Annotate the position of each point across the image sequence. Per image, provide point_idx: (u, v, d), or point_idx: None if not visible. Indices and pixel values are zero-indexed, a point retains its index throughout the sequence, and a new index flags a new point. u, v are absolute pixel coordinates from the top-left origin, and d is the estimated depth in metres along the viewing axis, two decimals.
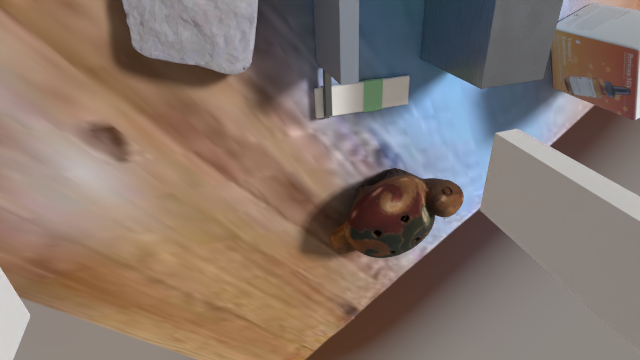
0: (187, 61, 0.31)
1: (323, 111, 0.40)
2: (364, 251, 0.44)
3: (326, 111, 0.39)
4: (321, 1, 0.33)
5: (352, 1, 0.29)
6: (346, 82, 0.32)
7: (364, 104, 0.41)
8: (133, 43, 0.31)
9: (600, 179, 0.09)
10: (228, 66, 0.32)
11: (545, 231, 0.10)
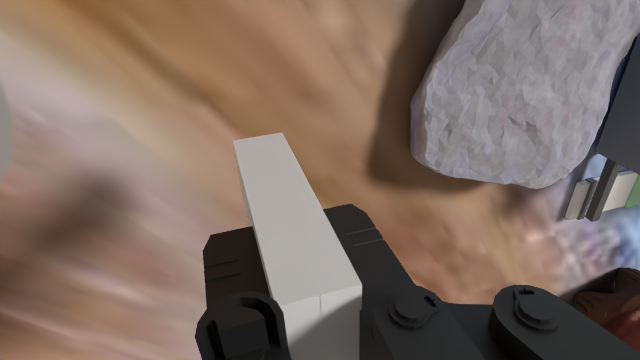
0: (502, 180, 0.20)
1: (580, 211, 0.29)
2: None
3: (593, 215, 0.28)
4: None
5: None
6: None
7: (629, 198, 0.30)
8: (426, 156, 0.20)
9: (300, 181, 0.10)
10: (548, 181, 0.21)
11: None
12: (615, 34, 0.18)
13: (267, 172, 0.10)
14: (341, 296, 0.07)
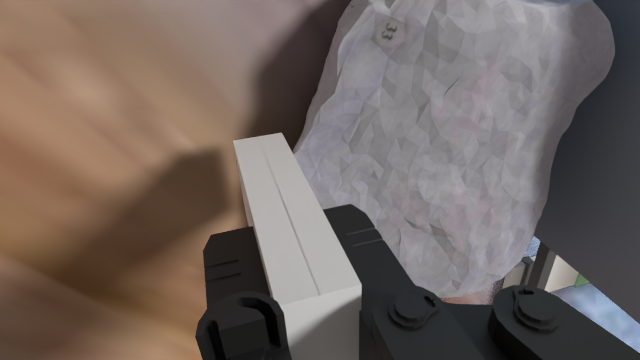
0: None
1: None
2: None
3: None
4: (602, 153, 0.16)
5: None
6: None
7: (579, 276, 0.24)
8: None
9: (300, 181, 0.10)
10: (475, 289, 0.16)
11: None
12: (546, 107, 0.13)
13: (267, 172, 0.10)
14: (340, 296, 0.07)
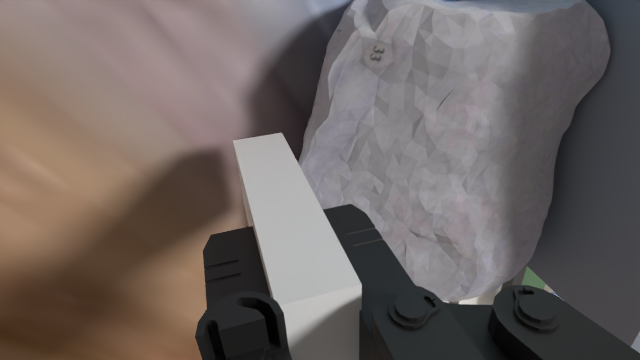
0: None
1: None
2: None
3: None
4: (565, 163, 0.15)
5: None
6: None
7: None
8: None
9: (300, 181, 0.10)
10: (486, 290, 0.16)
11: None
12: (542, 110, 0.13)
13: (267, 172, 0.10)
14: (341, 296, 0.07)
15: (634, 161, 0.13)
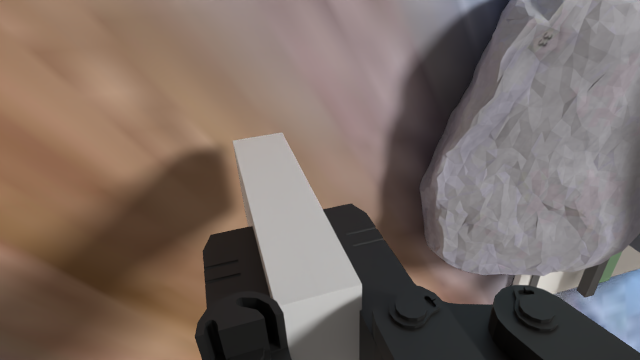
0: (540, 272, 0.17)
1: None
2: None
3: (587, 290, 0.23)
4: None
5: None
6: None
7: None
8: (444, 253, 0.16)
9: (300, 181, 0.10)
10: (597, 262, 0.18)
11: None
12: None
13: (267, 172, 0.10)
14: (341, 296, 0.07)
15: None
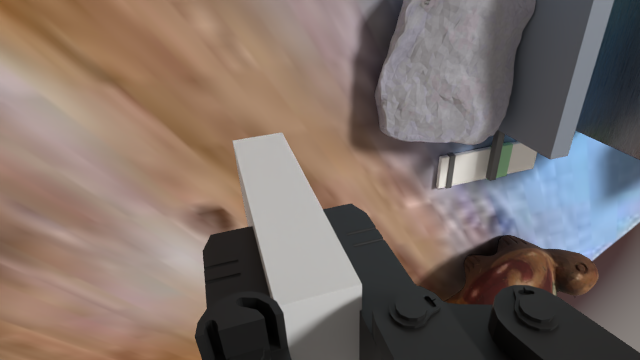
0: (443, 140, 0.29)
1: (446, 181, 0.35)
2: None
3: (490, 175, 0.35)
4: (520, 63, 0.29)
5: (587, 71, 0.25)
6: (556, 156, 0.28)
7: None
8: (387, 128, 0.29)
9: (300, 181, 0.10)
10: (479, 138, 0.30)
11: None
12: (504, 31, 0.27)
13: (267, 172, 0.10)
14: (341, 296, 0.07)
15: (548, 51, 0.26)
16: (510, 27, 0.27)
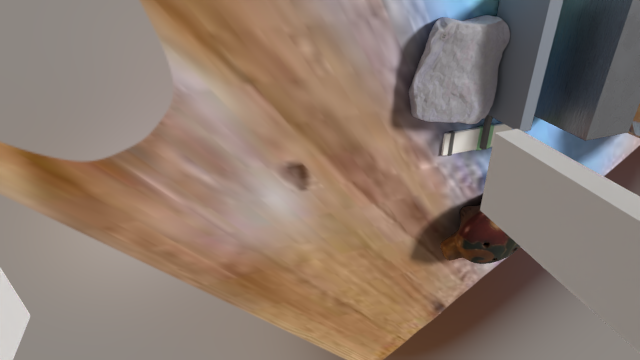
0: (453, 120, 0.46)
1: (448, 150, 0.52)
2: (471, 258, 0.55)
3: (482, 145, 0.52)
4: (501, 71, 0.45)
5: (540, 77, 0.42)
6: (522, 130, 0.44)
7: (478, 144, 0.53)
8: (417, 113, 0.45)
9: (600, 179, 0.09)
10: (476, 119, 0.47)
11: (545, 231, 0.10)
12: (491, 52, 0.43)
13: None
14: None
15: (518, 64, 0.43)
16: (494, 50, 0.43)
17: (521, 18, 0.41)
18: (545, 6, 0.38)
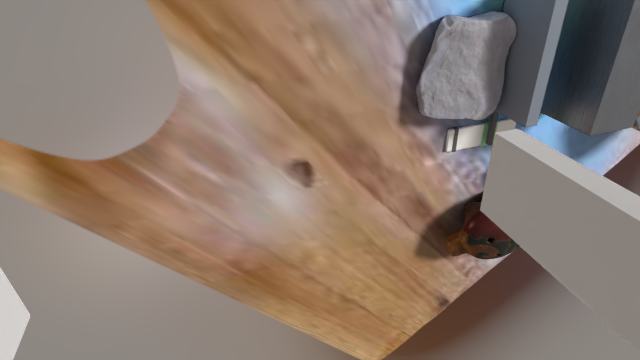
0: (460, 117, 0.46)
1: (452, 146, 0.52)
2: (476, 254, 0.56)
3: (488, 141, 0.52)
4: (507, 66, 0.45)
5: (546, 72, 0.42)
6: (529, 125, 0.45)
7: (482, 140, 0.53)
8: (424, 111, 0.46)
9: (600, 179, 0.09)
10: (483, 115, 0.47)
11: (545, 231, 0.10)
12: (497, 48, 0.43)
13: None
14: None
15: (524, 60, 0.43)
16: (501, 46, 0.43)
17: (528, 13, 0.41)
18: (552, 2, 0.38)
